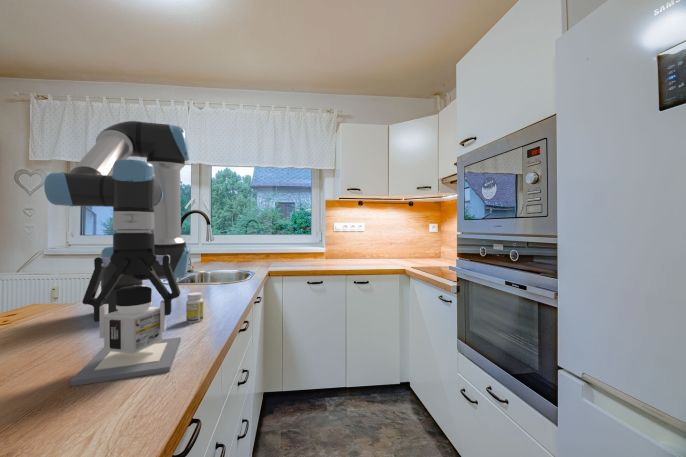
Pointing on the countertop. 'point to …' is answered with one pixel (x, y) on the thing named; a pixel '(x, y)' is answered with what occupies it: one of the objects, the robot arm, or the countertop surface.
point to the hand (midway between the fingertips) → (134, 332)
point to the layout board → (129, 363)
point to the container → (132, 321)
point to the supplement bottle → (194, 307)
